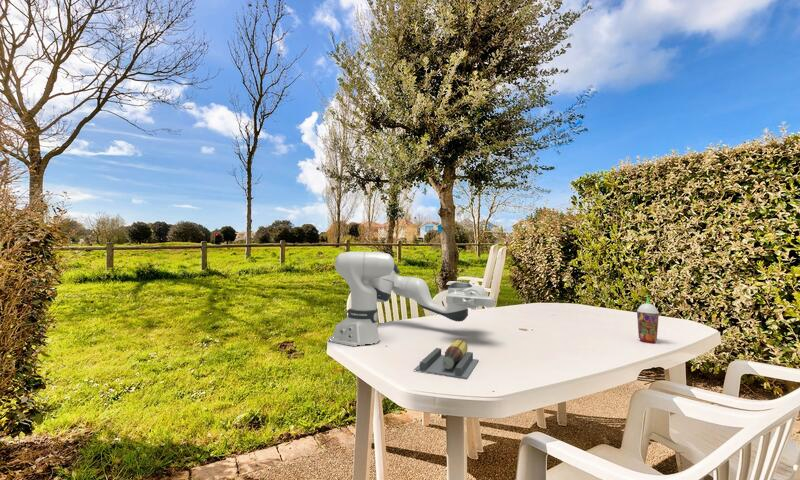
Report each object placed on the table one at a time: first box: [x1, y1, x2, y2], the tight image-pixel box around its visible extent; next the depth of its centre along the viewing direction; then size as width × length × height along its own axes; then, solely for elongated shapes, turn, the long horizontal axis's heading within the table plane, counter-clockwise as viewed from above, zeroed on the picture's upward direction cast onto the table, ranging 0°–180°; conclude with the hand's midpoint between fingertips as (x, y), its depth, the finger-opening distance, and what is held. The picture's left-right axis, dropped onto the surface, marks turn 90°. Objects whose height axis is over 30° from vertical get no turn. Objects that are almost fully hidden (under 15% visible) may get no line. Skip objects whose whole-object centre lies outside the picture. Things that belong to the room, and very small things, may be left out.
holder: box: [413, 347, 480, 380], centre depth 128 cm, size 18×20×3 cm
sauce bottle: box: [442, 339, 468, 369], centre depth 130 cm, size 6×6×20 cm
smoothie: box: [636, 297, 660, 344], centre depth 165 cm, size 8×8×20 cm
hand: (466, 302), depth 152 cm, fingers closed
